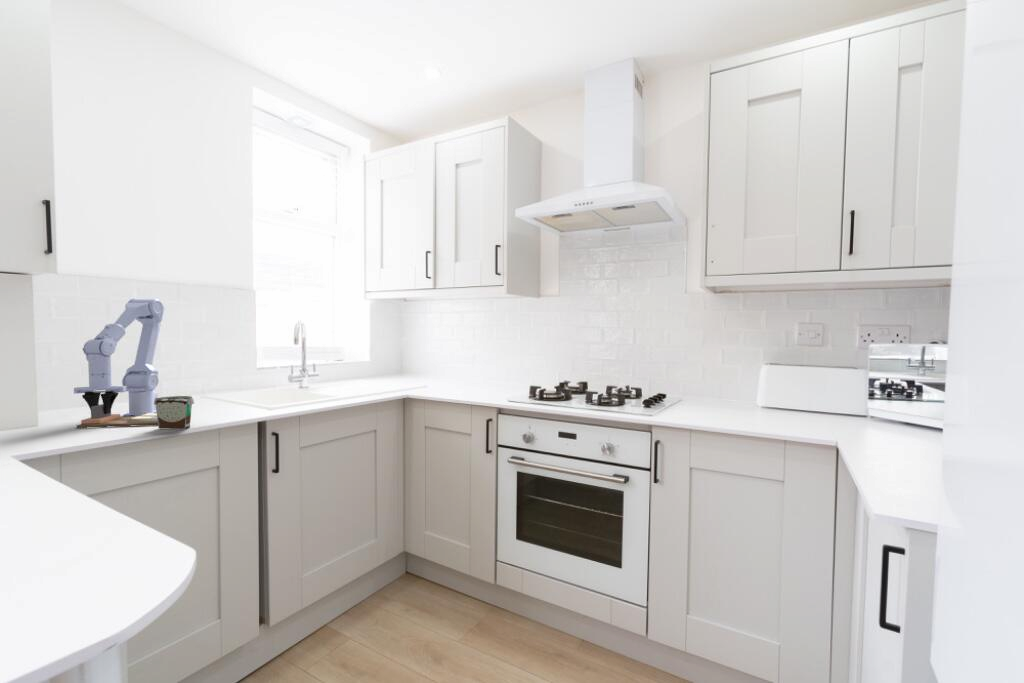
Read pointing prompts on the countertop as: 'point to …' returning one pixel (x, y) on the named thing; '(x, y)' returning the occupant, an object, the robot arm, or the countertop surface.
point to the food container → (174, 411)
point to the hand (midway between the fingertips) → (101, 413)
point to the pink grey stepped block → (99, 415)
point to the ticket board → (126, 421)
